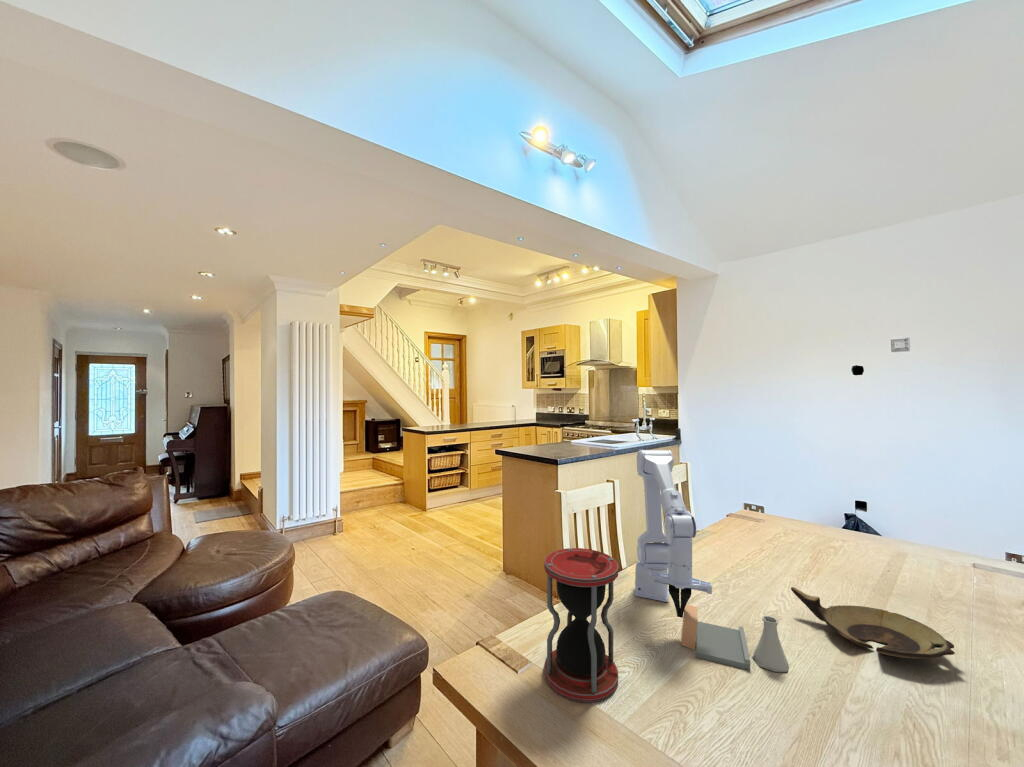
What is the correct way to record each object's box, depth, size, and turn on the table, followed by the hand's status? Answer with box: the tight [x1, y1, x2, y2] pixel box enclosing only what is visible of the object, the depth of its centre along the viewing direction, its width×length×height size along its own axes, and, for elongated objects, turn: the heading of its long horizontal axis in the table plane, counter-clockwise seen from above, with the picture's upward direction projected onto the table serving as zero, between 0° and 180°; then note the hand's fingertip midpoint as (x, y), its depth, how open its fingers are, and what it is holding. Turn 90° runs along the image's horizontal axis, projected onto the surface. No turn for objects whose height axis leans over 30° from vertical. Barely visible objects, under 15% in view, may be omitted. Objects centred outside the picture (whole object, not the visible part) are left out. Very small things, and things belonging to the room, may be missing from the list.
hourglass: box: [543, 547, 619, 703], centre depth 91 cm, size 16×16×25 cm
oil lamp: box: [790, 586, 956, 660], centre depth 104 cm, size 22×30×8 cm
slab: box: [681, 603, 699, 650], centre depth 104 cm, size 3×8×6 cm, turn 156°
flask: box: [752, 615, 790, 673], centre depth 95 cm, size 7×7×10 cm
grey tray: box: [695, 620, 751, 671], centre depth 101 cm, size 11×14×2 cm
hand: (680, 615), depth 105 cm, fingers closed
